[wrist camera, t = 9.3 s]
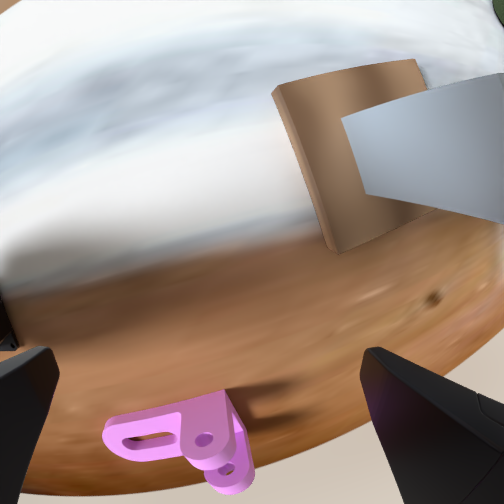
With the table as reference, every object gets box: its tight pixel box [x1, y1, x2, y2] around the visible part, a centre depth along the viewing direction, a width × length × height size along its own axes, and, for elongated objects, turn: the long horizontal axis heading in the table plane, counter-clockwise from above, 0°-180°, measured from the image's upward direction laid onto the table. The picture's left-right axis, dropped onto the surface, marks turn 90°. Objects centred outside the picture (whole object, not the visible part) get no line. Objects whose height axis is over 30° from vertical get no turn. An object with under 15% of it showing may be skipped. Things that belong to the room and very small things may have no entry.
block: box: [341, 73, 504, 224], centre depth 12 cm, size 5×5×12 cm
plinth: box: [271, 59, 437, 255], centre depth 19 cm, size 11×11×2 cm
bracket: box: [102, 389, 255, 495], centre depth 20 cm, size 13×6×7 cm, turn 108°
